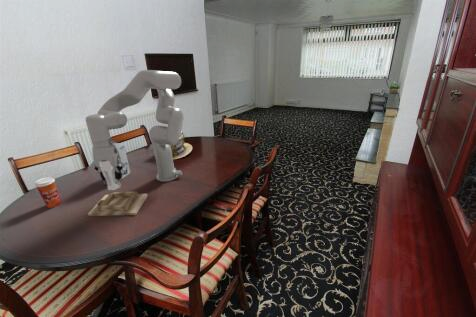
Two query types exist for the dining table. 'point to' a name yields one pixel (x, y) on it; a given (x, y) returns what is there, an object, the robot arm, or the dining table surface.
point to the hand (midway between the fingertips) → (112, 178)
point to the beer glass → (109, 175)
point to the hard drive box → (123, 156)
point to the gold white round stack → (180, 148)
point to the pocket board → (118, 204)
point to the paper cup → (48, 191)
